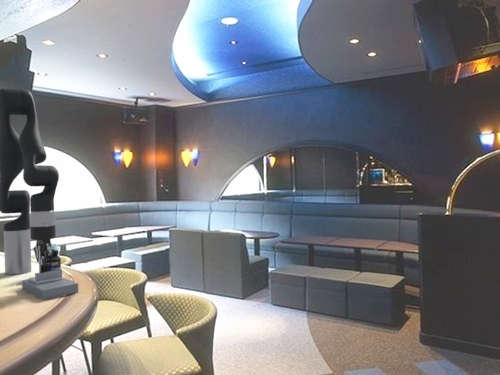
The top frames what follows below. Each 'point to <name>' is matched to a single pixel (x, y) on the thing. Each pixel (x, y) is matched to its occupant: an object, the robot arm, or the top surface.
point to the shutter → (46, 276)
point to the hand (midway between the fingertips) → (44, 275)
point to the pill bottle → (55, 262)
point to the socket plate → (50, 288)
